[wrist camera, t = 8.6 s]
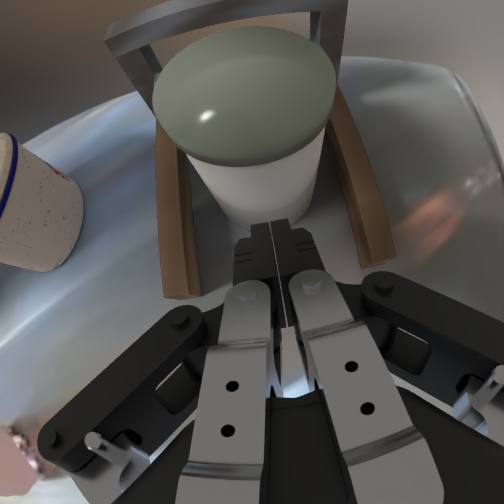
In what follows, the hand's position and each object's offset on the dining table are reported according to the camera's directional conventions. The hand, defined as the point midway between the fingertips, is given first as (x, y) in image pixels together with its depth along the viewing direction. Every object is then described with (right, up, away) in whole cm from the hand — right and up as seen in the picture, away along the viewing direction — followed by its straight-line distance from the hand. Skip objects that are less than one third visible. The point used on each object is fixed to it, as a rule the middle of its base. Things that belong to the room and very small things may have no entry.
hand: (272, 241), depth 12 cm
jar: (0, +4, +7) cm, 8 cm away
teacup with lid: (-20, +2, +9) cm, 22 cm away
